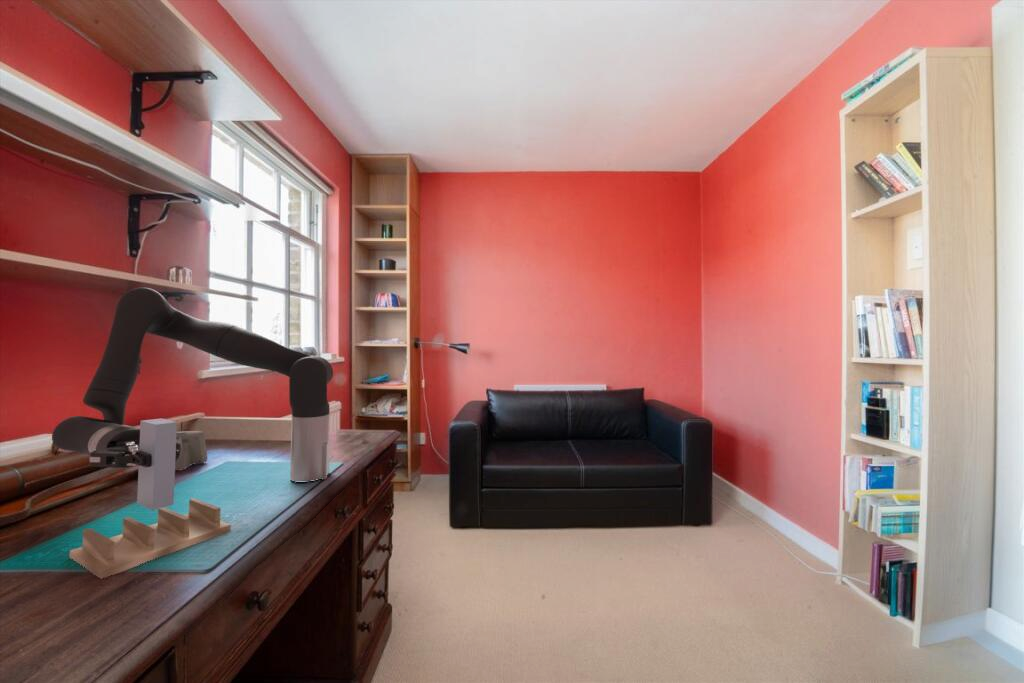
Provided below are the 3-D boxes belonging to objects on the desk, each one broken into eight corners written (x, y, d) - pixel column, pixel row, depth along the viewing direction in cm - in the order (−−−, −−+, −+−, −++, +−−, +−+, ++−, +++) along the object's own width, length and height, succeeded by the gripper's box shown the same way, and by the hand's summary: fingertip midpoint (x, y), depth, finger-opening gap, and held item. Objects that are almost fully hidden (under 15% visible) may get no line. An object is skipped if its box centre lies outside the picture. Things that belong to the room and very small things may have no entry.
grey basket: (211, 462, 118) (212, 427, 118) (191, 471, 109) (192, 434, 109) (151, 464, 116) (152, 428, 116) (126, 473, 107) (127, 435, 107)
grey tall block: (158, 497, 73) (161, 418, 73) (173, 504, 70) (176, 421, 70) (137, 503, 70) (140, 420, 70) (152, 510, 67) (155, 424, 68)
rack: (195, 516, 81) (196, 495, 81) (230, 530, 75) (231, 507, 75) (69, 557, 65) (70, 530, 65) (100, 579, 59) (101, 550, 59)
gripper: (70, 432, 71) (109, 446, 63) (166, 420, 83) (208, 430, 76) (68, 473, 71) (107, 492, 63) (164, 455, 83) (206, 469, 76)
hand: (162, 458), depth 69 cm, fingers closed on grey tall block, 3 cm apart
